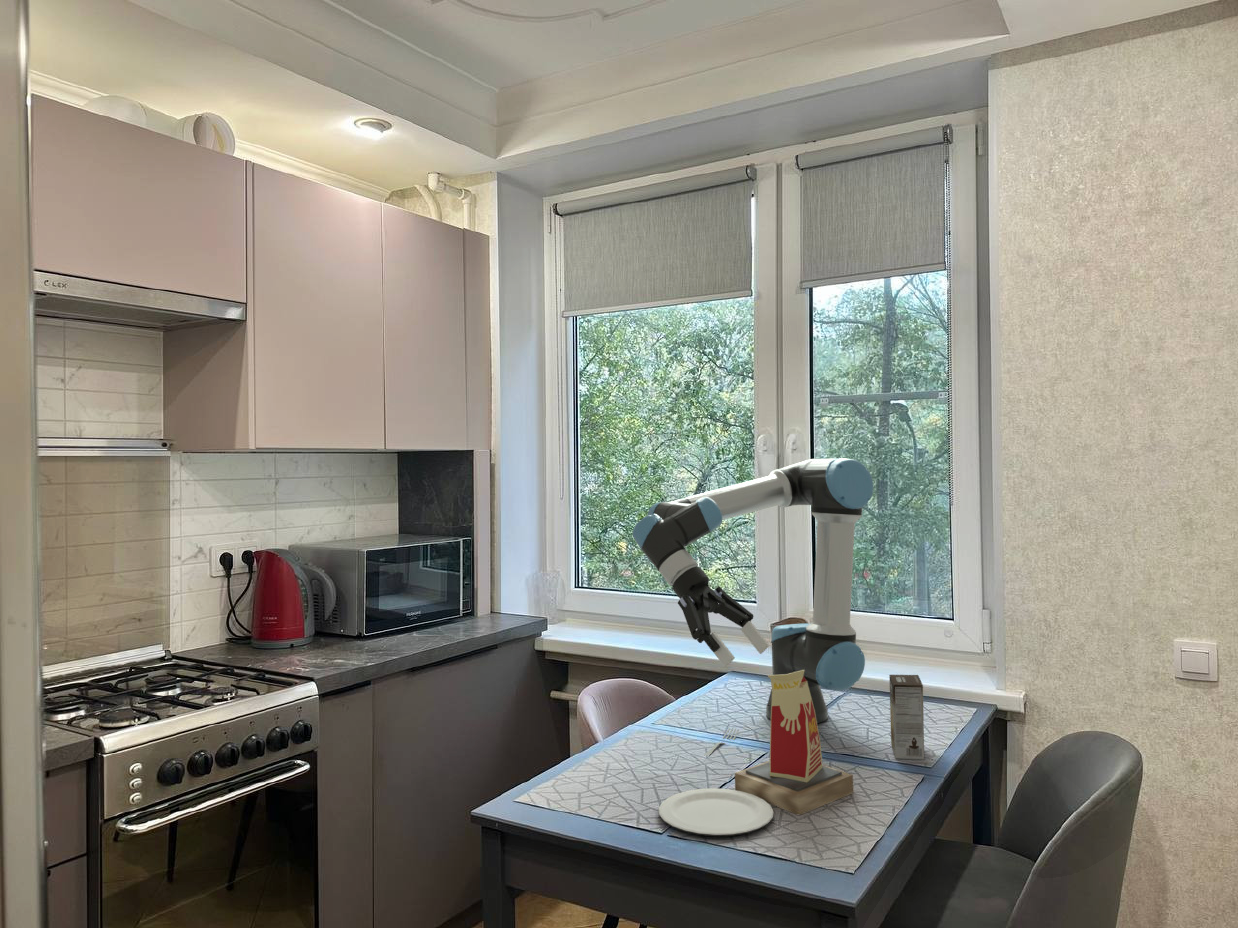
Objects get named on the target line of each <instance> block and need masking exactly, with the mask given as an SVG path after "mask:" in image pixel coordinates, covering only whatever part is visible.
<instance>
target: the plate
mask: <svg viewBox="0 0 1238 928" xmlns="http://www.w3.org/2000/svg"><path fill="white" fill-rule="evenodd" d="M658 813H659V815H658V816H659V817H660V818H661V819H662V821H663V822H664V823H666V824H667V825H669V826H670V827H672V828H674V829H676V830H679V831H682V832H684V833H687V834H688V833H689V834H694V835H699V836H707V837H733V836H738V835H739V836H741V835H745V834H749V833H753V832H755V831H758V830H760V829H763V827H765V826H767V825H768V824H769V823H770V822H771V821H772V820H773V818H774V813H775V812H774V810H773V808H772V805H771V804H769V803H767V802H766V801H765V800H763V799H761V798H759V797H757V796H755V795H752V794H749V793H746V792H742V791H736V790H735V789H728V788H718V787H717V788H715V787H713V788H698V789H690V790H686V791H682V792H679V793H676V794H673V795H672V796H669V797H667V798H666V799H665V800H663V802H661V804H660V805H659V808H658Z"/></svg>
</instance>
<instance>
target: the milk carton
mask: <svg viewBox="0 0 1238 928" xmlns="http://www.w3.org/2000/svg"><path fill="white" fill-rule="evenodd" d="M803 675H804V670H801V671H797V672H793V673H789V674H782V675H773V674H769V675H768V674H767V675H766V676H767V677H768V678H769V679H770V684H771V689H772V703H771V719H770V727H769V729H770V732H769V761H770V776H773V777H781V778H787V779H792V780H797V781H802V782H808V781H809V780H811V779H812V778H813V777H814V776H815V775H816V774H817V773H818V772H819V771H820V770H821V769H822V768H823V766H822V765H823V756H822V747H821V746H822V745H821V738H820V733H819V727H818V723H817V720H816V715H815V710H814V706H813V702H812V698H811V694H810V690H809V687H808V683H807V680H806V679H805V678H804V676H803Z"/></svg>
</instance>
